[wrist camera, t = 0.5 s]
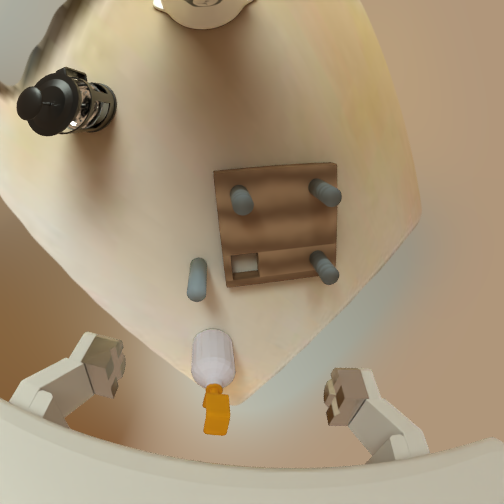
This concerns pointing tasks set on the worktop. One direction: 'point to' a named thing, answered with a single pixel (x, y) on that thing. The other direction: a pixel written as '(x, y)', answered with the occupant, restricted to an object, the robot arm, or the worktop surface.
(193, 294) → the stool leg
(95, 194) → the worktop surface
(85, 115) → the french press
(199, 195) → the worktop surface
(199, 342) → the white orange spray bottle
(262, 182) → the stool
